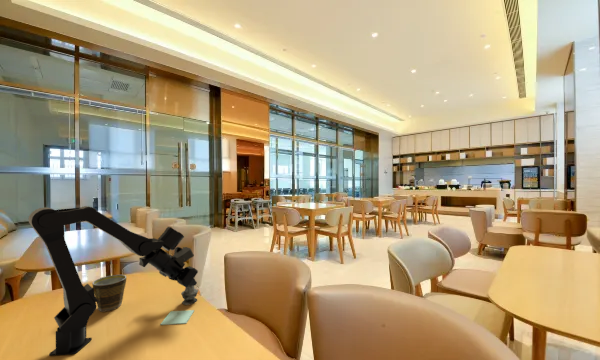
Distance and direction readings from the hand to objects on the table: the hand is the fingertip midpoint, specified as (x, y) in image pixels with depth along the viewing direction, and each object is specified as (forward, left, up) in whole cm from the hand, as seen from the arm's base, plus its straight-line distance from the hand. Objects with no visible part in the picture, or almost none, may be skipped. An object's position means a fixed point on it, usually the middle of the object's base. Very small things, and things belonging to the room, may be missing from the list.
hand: (193, 282), depth 98 cm
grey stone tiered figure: (-1, +1, -7) cm, 7 cm away
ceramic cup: (-4, +29, -7) cm, 30 cm away
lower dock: (-13, +1, -7) cm, 14 cm away
